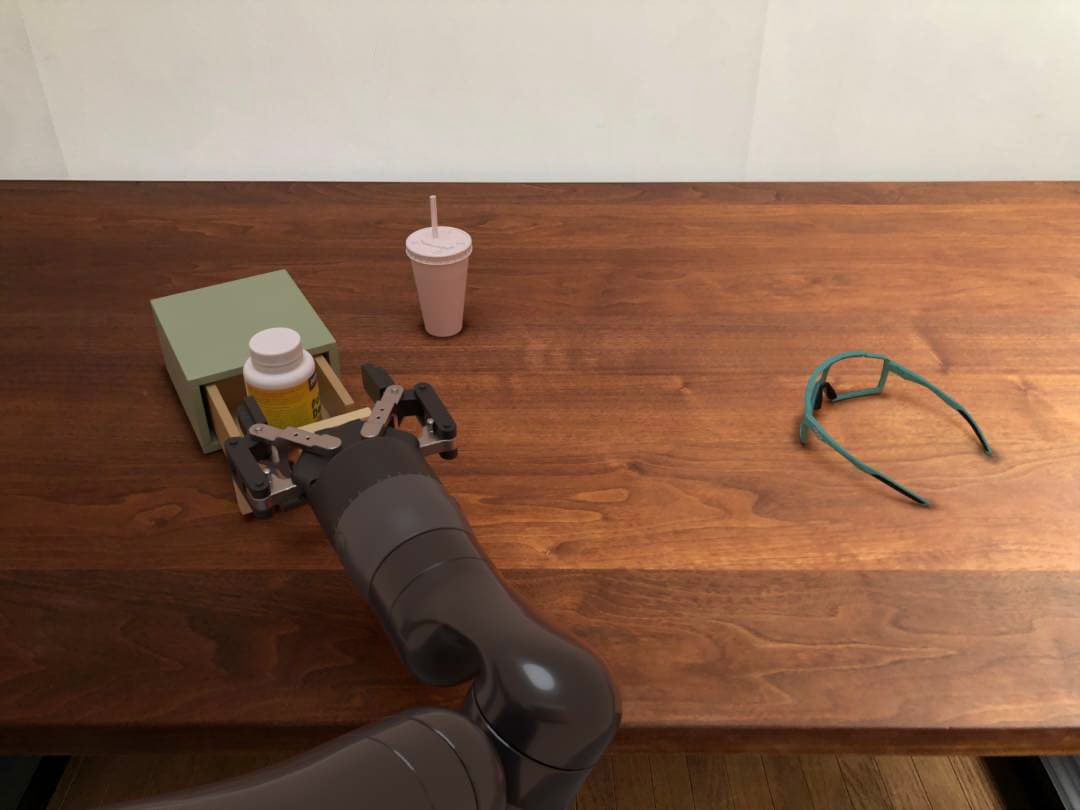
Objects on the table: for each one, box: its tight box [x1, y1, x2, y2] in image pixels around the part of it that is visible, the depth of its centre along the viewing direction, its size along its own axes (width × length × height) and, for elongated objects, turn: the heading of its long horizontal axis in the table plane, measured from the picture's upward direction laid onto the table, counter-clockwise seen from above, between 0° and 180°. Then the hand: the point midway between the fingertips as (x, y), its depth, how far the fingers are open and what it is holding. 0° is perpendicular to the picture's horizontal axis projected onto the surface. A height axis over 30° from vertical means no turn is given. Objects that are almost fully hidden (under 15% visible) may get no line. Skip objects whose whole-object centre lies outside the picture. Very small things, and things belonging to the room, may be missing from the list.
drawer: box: [200, 353, 372, 515], centre depth 85 cm, size 18×11×6 cm, turn 28°
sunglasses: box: [799, 350, 994, 507], centre depth 90 cm, size 14×15×5 cm
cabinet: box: [149, 268, 343, 455], centre depth 95 cm, size 15×13×8 cm
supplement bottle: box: [243, 328, 323, 430], centre depth 84 cm, size 6×6×10 cm
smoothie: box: [405, 194, 473, 338], centre depth 102 cm, size 6×6×14 cm
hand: (309, 389), depth 74 cm, fingers open, 8 cm apart
